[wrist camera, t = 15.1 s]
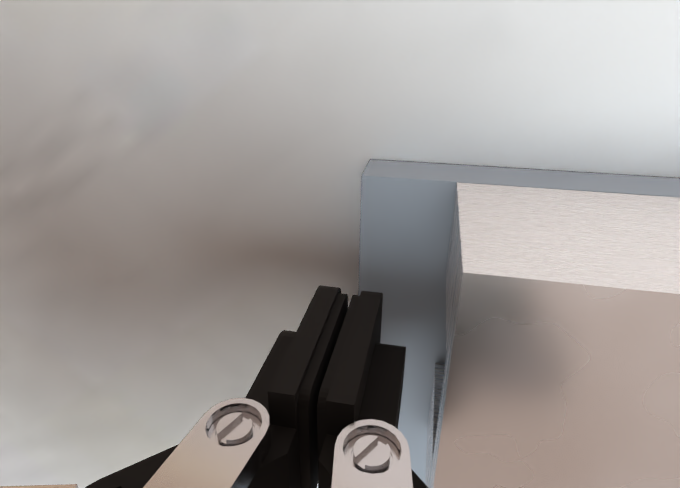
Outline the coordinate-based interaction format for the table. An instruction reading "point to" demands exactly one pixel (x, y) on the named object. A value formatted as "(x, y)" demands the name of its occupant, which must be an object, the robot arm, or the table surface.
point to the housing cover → (558, 342)
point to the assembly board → (438, 258)
